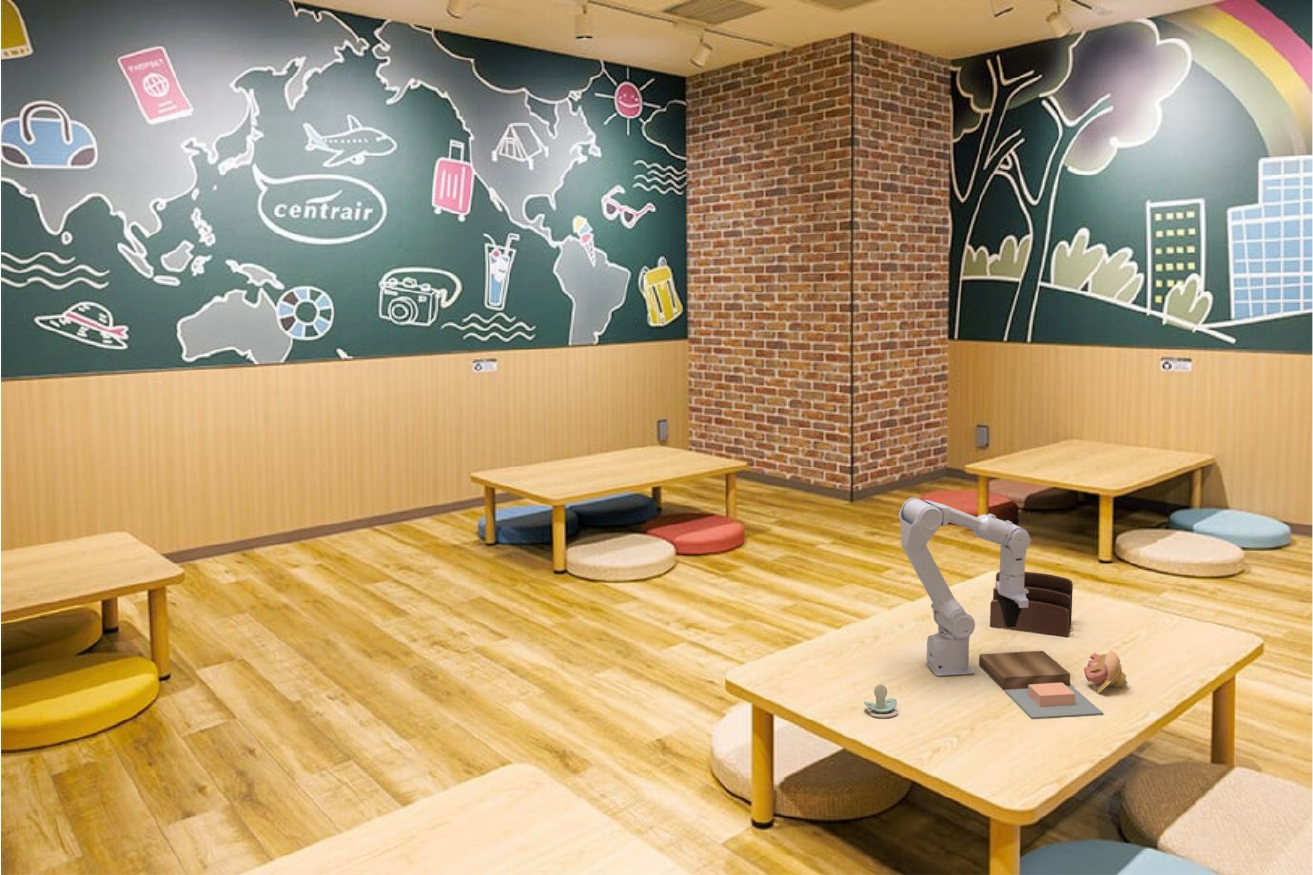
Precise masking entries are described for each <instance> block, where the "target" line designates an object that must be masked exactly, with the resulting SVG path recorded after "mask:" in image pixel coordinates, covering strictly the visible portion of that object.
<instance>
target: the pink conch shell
mask: <svg viewBox="0 0 1313 875" xmlns="http://www.w3.org/2000/svg"><path fill="white" fill-rule="evenodd" d="M1089 659H1091V660H1088V663H1087V665H1086V666H1085V667H1084V670H1083V671H1084V676H1085V678H1086V680H1087V681H1088V682H1092V683H1093V684H1094V685H1096V686H1097V685H1098V687H1097V690H1096V694H1099V693H1101V692H1102V691H1103V690H1104V689H1105V688H1107V687H1110V686H1113V687H1114V688H1117V689H1118V688H1121V687H1125V686H1127V684H1128V681H1127V679H1126V678H1127V675H1126V673H1125V672H1124V671H1123V669H1122V663H1121V659H1120V658H1119V655H1118V654H1117V653H1116V652H1115V651H1114V650H1112V649H1111V650H1109V651H1108V653H1107V654H1105V653H1103V654H1098V653H1096V652H1095V653H1092V654H1091V655H1090V657H1089Z"/></svg>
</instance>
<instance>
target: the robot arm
mask: <svg viewBox="0 0 1313 875" xmlns="http://www.w3.org/2000/svg"><path fill="white" fill-rule="evenodd" d="M898 518H899V522H900V545H901V547H902V550H903V552H904V554H906V557H907V558H908V560H909V562H910V563H911V566H912V567H913V569H914V571H915V573H916V575H917V577H918V579H919V580H920V582H921V584H922V586H923V588H924V590H925V591H926V593H927V595H928V597H929V599H930V601H931V602H932V603H931V605H930V607H931V609H932V611H933V620H934V622H935V623H936V625H937V630H938V631H937V633H935V634H930V635H929V636H928V637H927V641H926V661H925V664H926V666H927V667H928V668H929V669H930V670H931V671H932V673H933V674H934V675H935V676H936V677H943V676H946V677H947V676H962V675H964V676H965V675H974V674H975V671H974V670H973V669H972V668H971V667H970V666H969V655H970V654H969V652H970V650H969V649H970V647H969V646H970V636H972V634H973V633H974V631H975V628H976V622H975V619H974V617H972V615H970V614H968V613H967V612H966V610H965V609H964V607H963V606H962V605H961V603H959V601H957V599H956V597H955V596H954V594H953V593H952V591H951V589H950V587H949V585H948V583H947V582H946V580H945V577H943V574H942V572H941V570H940V569H939V566H938V565H937V563H936V562H935V559H934V557H933V556H932V554H931V552H930V551H929V549H928V547H927V544H928V543H929V541H930V540H931V539H932V537H933V536H934V535H935V534H936V532H937V531H938V530H939V528H940V527H946V526H947V524H949V523H950V524H954V525H956V526H960V527H964V528H966V529H969V530H972V531H973V534H974V535H975V537H977V538H980V539H983V540H985V541H988V542H991V543H995V544H996V545H1000V549H999V550H1000V553H999V557H1000V558H999V572H1000V578H999V581H996V580H995V583H994V585H995V586H994V588H995V589H997V590H998V593H999V594H1000V595H1002V596H999V597H997V600H998V602H999V604H1000V607H1001V609H1002V613H1003V618H1004V623H1005V626H1006V627H1015V626H1016V623H1017V620H1018V617H1019V614H1020V612H1021V610H1022V608H1028V599H1027V598H1026V594H1027V593H1029V591H1028V590H1027V589H1025V588H1024V576H1025V572H1026V555H1027V550H1028V548H1029V547H1030V545H1031V543H1032V538H1030V533H1029V531H1027V530H1026V529H1025V528H1024V527H1021V526H1018V525H1017V524H1014V523H1013V522H1012V521H1010V520H1003V519H1000V518H997V516H996V515H995V514H993V513H988V514H980V515H979V516H974V515H972V514H969V513H966V512H964V511H961V510H959V509H956V508H953V507H951V506H948V505H946V504H943V503H939V502H937V501H931V500H927V499H924V501H923V499H921V498H919V497H911V498H908V499H907V500H905V501H904V502H903V504H902V506H901V508H900V511H899V513H898Z"/></svg>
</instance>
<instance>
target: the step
mask: <svg viewBox="0 0 1313 875" xmlns="http://www.w3.org/2000/svg"><path fill="white" fill-rule="evenodd" d="M978 659H979V660H978V665H979V667H980V668H981V669H982V670H983V671H984V673H986V675H988V676H989V677H990V679H992V680H993V682H994V683H995V684H997V686H999V687H1000V688H1001V689H1002V690H1003V691H1005V690H1013V689H1028V685H1029V684H1046V683H1063V684H1065V685H1066V686H1071V673H1070V672H1069V671H1068V670H1067V669H1066V668H1064V666H1062V665H1061V664H1060V663H1058V662H1057V661H1056V660H1055V659H1053V658H1052V656H1050V655H1049V654H1047V653H1046V651H1044V650H1029V651H1015V652H996V653H994V652H993V653H979V658H978Z"/></svg>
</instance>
